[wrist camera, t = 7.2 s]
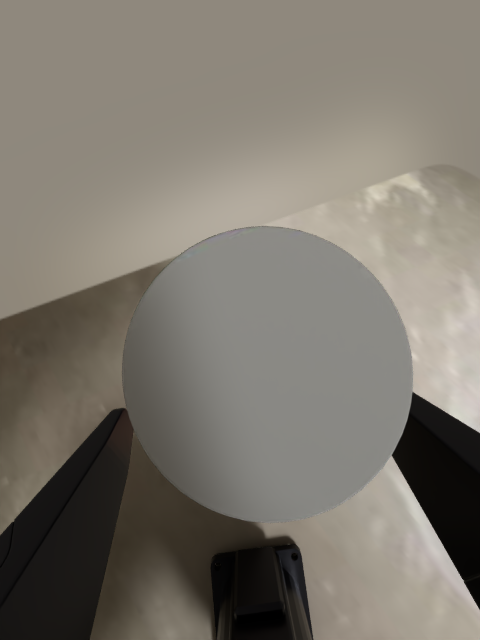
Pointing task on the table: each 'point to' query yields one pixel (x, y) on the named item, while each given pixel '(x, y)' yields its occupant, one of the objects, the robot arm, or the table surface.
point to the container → (267, 374)
